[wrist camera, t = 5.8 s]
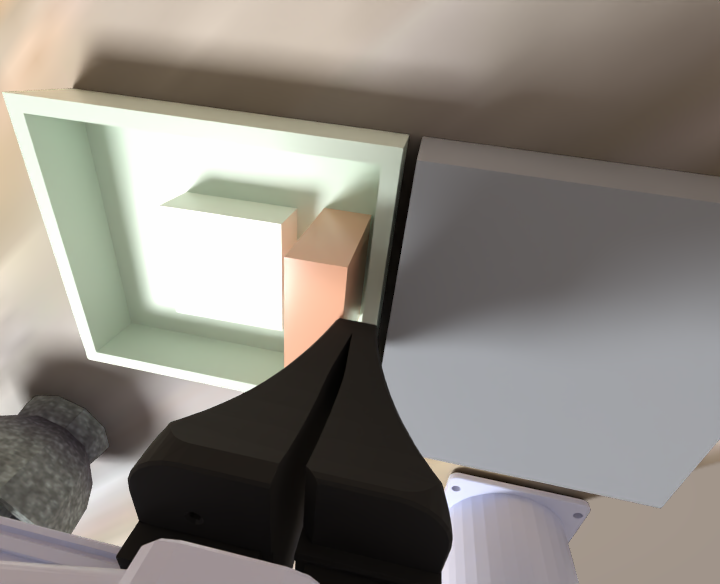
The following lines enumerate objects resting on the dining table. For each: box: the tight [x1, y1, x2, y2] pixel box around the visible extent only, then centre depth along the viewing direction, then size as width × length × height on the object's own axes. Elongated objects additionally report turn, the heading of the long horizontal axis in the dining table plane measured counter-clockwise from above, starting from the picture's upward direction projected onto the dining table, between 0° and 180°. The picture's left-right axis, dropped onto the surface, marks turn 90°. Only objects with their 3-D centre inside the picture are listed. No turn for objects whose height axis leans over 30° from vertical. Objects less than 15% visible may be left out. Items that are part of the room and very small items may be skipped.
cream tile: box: [159, 192, 297, 331], centre depth 17 cm, size 5×5×2 cm
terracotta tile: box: [284, 208, 372, 368], centre depth 15 cm, size 5×5×2 cm
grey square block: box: [382, 136, 720, 508], centre depth 15 cm, size 12×12×4 cm
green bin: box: [2, 88, 409, 392], centre depth 17 cm, size 12×14×3 cm
